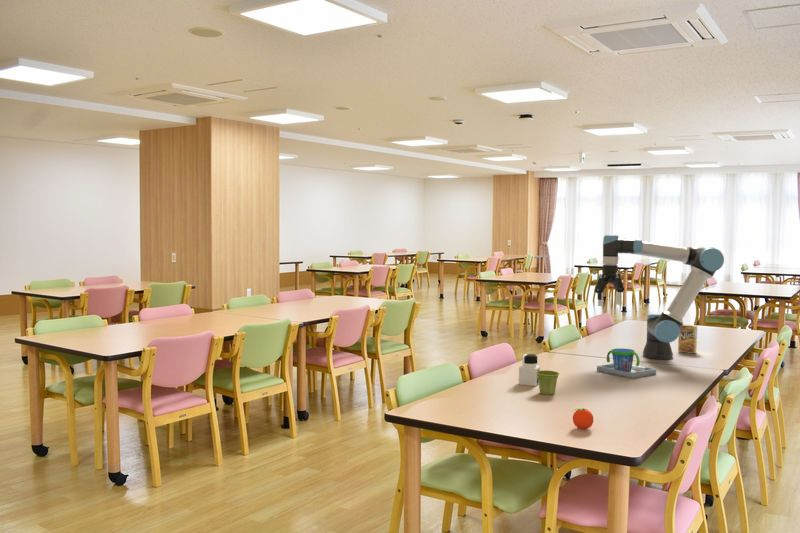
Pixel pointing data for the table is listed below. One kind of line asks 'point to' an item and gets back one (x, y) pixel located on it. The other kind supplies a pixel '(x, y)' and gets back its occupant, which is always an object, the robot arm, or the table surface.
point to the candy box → (687, 339)
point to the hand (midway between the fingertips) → (609, 305)
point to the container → (529, 370)
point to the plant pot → (547, 381)
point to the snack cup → (623, 359)
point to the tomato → (583, 418)
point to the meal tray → (635, 372)
